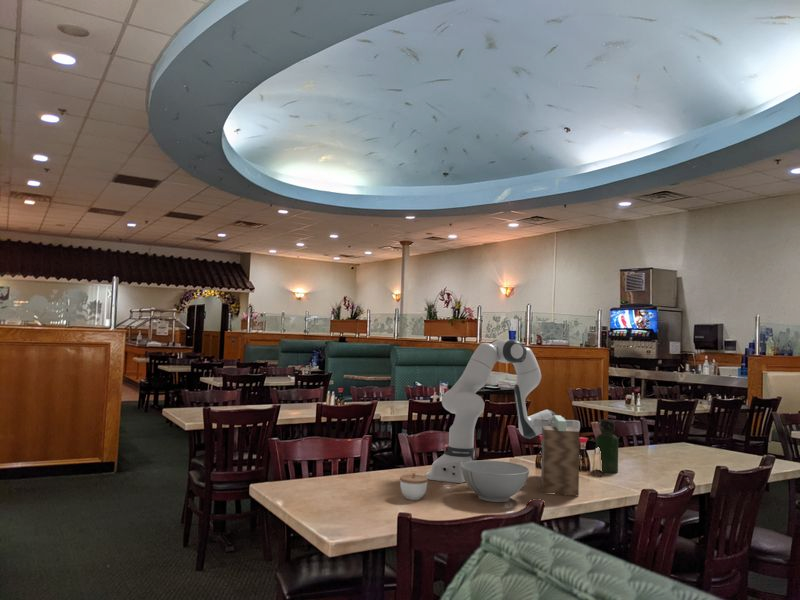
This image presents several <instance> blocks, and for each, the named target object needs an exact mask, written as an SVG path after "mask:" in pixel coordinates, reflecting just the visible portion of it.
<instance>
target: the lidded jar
mask: <svg viewBox="0 0 800 600" xmlns="http://www.w3.org/2000/svg"><path fill="white" fill-rule="evenodd" d="M399 480H400V482H399V485H400V491H401V493H402V496H404V497H405V499H406V500H410V501H417V500H421V499H422V497H424V496H425V494H426V492H427V487H428V480H429V479H428V478H427V477H426V475H420V474H416V473H415V472H413V473H412V474H403V475H401V476H400V477H399Z"/></svg>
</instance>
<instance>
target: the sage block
mask: <svg viewBox="0 0 800 600" xmlns="http://www.w3.org/2000/svg"><path fill="white" fill-rule="evenodd" d="M562 417H563V416H562V415H561V414H559V415H558V414H556V415H554V423H553V424H554V426H555V427H556V428H557V430H558V431H566V421H565V420H564V419H563V418H562Z"/></svg>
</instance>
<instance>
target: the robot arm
mask: <svg viewBox="0 0 800 600" xmlns="http://www.w3.org/2000/svg"><path fill="white" fill-rule="evenodd" d="M496 363H503V364H512V365H513V368H514V371H515V373H516V377H517V378H516V384H515V385H514V387H513V389H514V390H513V391H514V393H513V394H514V401H515V408H516V414H517V425H518V430H519V434H520V435H521V437H523V438H526V439H528V440H531V439H533V438H535V437H537V436H539V435H542V426H553V427H555V426H554V424H553V423H554V415H557V414H556V413H555V412H554V411H552V410H550V409H544V410H542V411H538V412H535V413H534V414H532V415H529V416H528V412H527V406H526V399H527V397H528V395H529V394H530V393H531V392H532V391H534V389H536V388H537V387H538V386H539V384H540V383H541V380H542V373H541V368H540V366H539V363H538V361H537V358H536V356H535V355H534V352H533V350H532V349H531V348H530V347H527V346H524V345H523V343H522V342H520V341H519V340H516V339H506V338H503V339H502V338H501V339H495V340H492V341H491V342H490V343H489V342H481V343H480V344H479V345H478V346H477V348H476V349H475V350H474V352H473V354H472V355H471V357H470V359H469V361H468V363H467V365H466V367H465V368H464V370H463V372H462V374H461V376H460V377H459V379H458V380H457V381H456V382H455V383H454V384H453V386H452V387H451V388H450V389H448V390H447V391H445V392H444V393H443V395H442V397H441V405H442V407H443V408H444V409H445V410H446V411H447V412H449V413H450V414H454V415H455V417H454V420H453V424H452V425H450V427H449V428H448V429H449V431H448V445H447V444H445V445H444V446H443V454H442V455H441V456H440V457H439V456H438V458H436V459H435V460H434V461H433V463H432V464H431V468H430V471H428V472H426V474H425V477H427V478H428V480H431V481H439V482H447V483H453V484H454V483H456V484H463V483H466V481H465V479H464V477H463V474H462V470H461V464H463V463H465V462H469V461H475V454H476V453H475V451H476V450H475V447H474V442H475V441H474V440H475V437H474V436H475V427H476V424H477V421H478V419H479V416H481V415H482V413H483V411H484V409H485V401H484V399H483V398H482V397H481V396H480V395H479V394H476V393H477V392H478V391H479V390H480V389H482V388H484V386H485V385H486V384H487V382H488V380H489V377H490V375H491V373H492V370H493V368H494V366H495V364H496ZM562 418H563V419H564V420H565V421H566V427H571V428H576V429H577V430H578V431H579V432H580V430H581V422H580V421H579V420H576V419H574V420H573V419H565V416H562Z"/></svg>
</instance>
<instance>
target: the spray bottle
mask: <svg viewBox="0 0 800 600" xmlns="http://www.w3.org/2000/svg"><path fill="white" fill-rule="evenodd" d="M615 426H616V425H615V421H614V419H608V418H607V419H606V418H602V419H601V420H600V423H599V429H600V432H601V433H599V434H598V435H596V438H595V449H596V448H597V447H599V448H600V451H601V460H602V471H603V472H602V473H605V472H607V473H608V474H613V473H614V474H615V473H618V472H619V438H618V436H616V435H615V434H613V433H615V429H616V428H615ZM607 473H606V474H607Z"/></svg>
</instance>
